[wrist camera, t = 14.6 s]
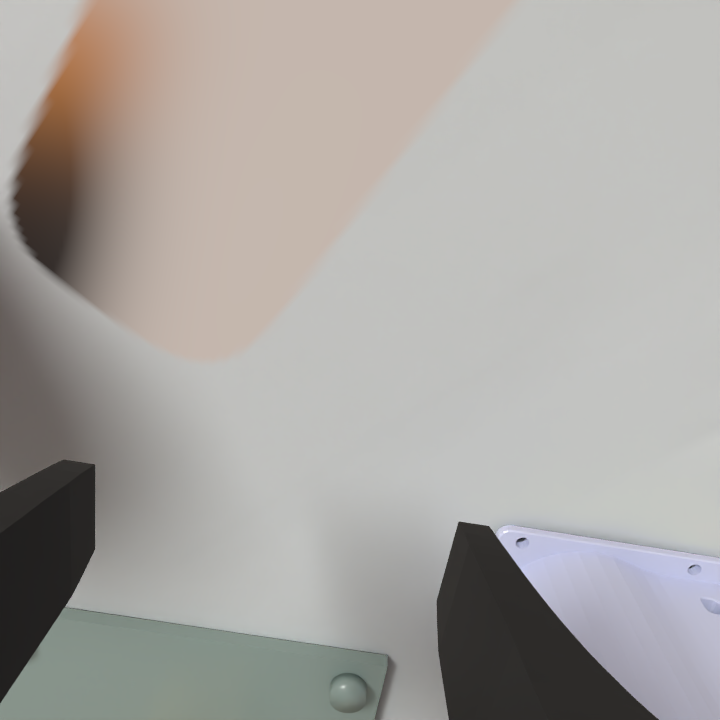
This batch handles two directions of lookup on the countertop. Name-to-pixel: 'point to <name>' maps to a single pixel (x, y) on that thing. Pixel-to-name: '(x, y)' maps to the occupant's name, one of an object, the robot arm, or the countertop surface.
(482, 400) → the countertop surface
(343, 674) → the baseplate
